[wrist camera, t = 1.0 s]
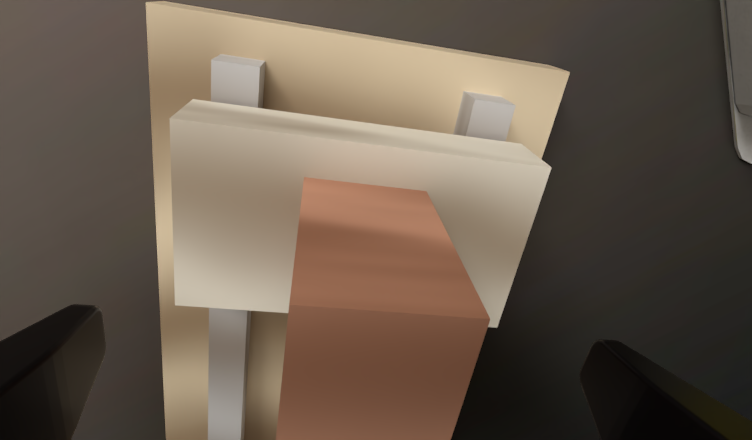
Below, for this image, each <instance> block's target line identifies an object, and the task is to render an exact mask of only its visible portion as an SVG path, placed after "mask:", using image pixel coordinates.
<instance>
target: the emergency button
mask: <svg viewBox="0 0 752 440" xmlns="http://www.w3.org/2000/svg"><path fill="white" fill-rule="evenodd" d="M720 6H721V16H722V26H723V36H724V46H725V56H726V66H727V76H728V86H729V96H730V106H731V116H732V126H733V136H734V146H735V149H736V151H737V154H738V156H739V158H740V159H742V160H744V161H746V162H748V163H751V164H752V0H720Z"/></svg>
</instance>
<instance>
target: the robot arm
mask: <svg viewBox="0 0 752 440" xmlns="http://www.w3.org/2000/svg"><path fill="white" fill-rule="evenodd" d="M105 350H106V342H105V333H104V324H103V315H102V311H101V309H100V308H99V307H98V306H94V305H79V304H73V305H70V306H68V307H66V308H64V309H62V310H60V311H58V312H56V313H54V314H52V315H50V316H48V317H46V318H44V319H42V320H41V321H39V322H37V323H35V324H33V325H31V326H29V327H27V328H25V329H23V330H21V331H19V332H17V333H15V334H13V335H12V336H10V337H8V338H6V339H4V340H2V341H0V440H71V438H72V436H73V434H74V431H75V429H76V426H77V424H78V421H79V419H80V416H81V414H82V411H83V409H84V406H85V404H86V401H87V399H88V396H89V394H90V391H91V389H92V386H93V384H94V381H95V379H96V376H97V374H98V371H99V369H100V366H101V364H102V361H103V359H104V355H105ZM580 383H581V386H582V389H583V392H584V395H585V397H586V400H587V403H588V406H589V409H590V411H591V414H592V417H593V420H594V423H595V425H596V428H597V431H598V434H599V437H600V439H601V440H752V421H750V420H748V419H747V418H745V417H743V416H742V415H740V414H738V413H737V412H735V411H734V410H732V409H730V408H729V407H727V406H725V405H724V404H722V403H720V402H719V401H717V400H715V399H714V398H712V397H710V396H709V395H707V394H705V393H704V392H702V391H700V390H699V389H697V388H695V387H694V386H692V385H690V384H689V383H687V382H686V381H684V380H682V379H681V378H679V377H677V376H676V375H674V374H672V373H671V372H669V371H667V370H666V369H664V368H662V367H661V366H659V365H657V364H656V363H654V362H652V361H651V360H649V359H647V358H646V357H644V356H643V355H641V354H639V353H638V352H636V351H634V350H633V349H631V348H629V347H628V346H626V345H624V344H623V343H621V342H619V341H616V340H603V339H599V340H596V341H595V342H594V343H593V344H592V346H591V348H590V350H589V352H588V355H587V357H586V359H585V361H584V363H583V366H582V368H581V370H580Z"/></svg>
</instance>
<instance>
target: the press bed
mask: <svg viewBox="0 0 752 440" xmlns="http://www.w3.org/2000/svg"><path fill="white" fill-rule="evenodd" d="M146 18H147V39H148V61H149V83H150V104H151V126H152V148H153V169H154V191H155V212H156V234H157V256H158V277H159V299H160V321H161V342H162V364H163V385H164V407H165V429H166V440H276V433H277V423H278V413H279V403H280V393H281V382H282V372H283V362H284V352H285V342H286V332H287V322H288V313H278V312H264V311H249V310H235V309H220V308H206V307H191V306H177V305H175V289H174V255H173V221H172V187H171V152H170V117H172V116H173V115H174V114H175V113H177V112H178V111H179V110H180V109H181V108H183V107H184V106H185V105H186V104H188V103H189V102H190V101H191V100H192V99H196V100H204V101H211V102H218V103H226V104H233V105H240V106H248V107H255V108H262V109H270V110H277V111H285V112H292V113H299V114H307V115H314V116H321V117H329V118H336V119H343V120H351V121H358V122H365V123H373V124H380V125H387V126H395V127H402V128H409V129H417V130H424V131H431V132H439V133H446V134H453V135H461V136H468V137H475V138H483V139H490V140H497V141H505V142H512V143H520V144H522V145H524V146H525V147H526V148H527V149H529V150H530V151H531V152H532V153H534V154H535V155H536V156H538V157H539V158H540V159H542V156H543V153H544V150H545V147H546V144H547V141H548V138H549V135H550V132H551V129H552V126H553V123H554V120H555V117H556V114H557V111H558V107H559V104H560V101H561V98H562V95H563V92H564V89H565V86H566V83H567V80H568V77H569V74H570V72H568V71H565V70H562V69H559V68H556V67H553V66H550V65H546V64H540V63H534V62H528V61H522V60H516V59H510V58H504V57H498V56H492V55H486V54H479V53H473V52H467V51H461V50H455V49H449V48H443V47H437V46H431V45H425V44H419V43H413V42H407V41H401V40H395V39H389V38H383V37H377V36H371V35H365V34H359V33H353V32H347V31H341V30H335V29H329V28H323V27H317V26H311V25H305V24H299V23H293V22H287V21H281V20H275V19H269V18H263V17H257V16H251V15H245V14H239V13H233V12H227V11H221V10H215V9H209V8H203V7H197V6H191V5H185V4H178V3H172V2H166V1H157V2H146Z"/></svg>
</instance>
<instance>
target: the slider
mask: <svg viewBox="0 0 752 440" xmlns="http://www.w3.org/2000/svg"><path fill="white" fill-rule="evenodd" d="M170 152H171V187H172V221H173V255H174V289H175V305H177V306H191V307H206V308H220V309H235V310H249V311H264V312H278V313H288V322H287V332H286V342H285V352H284V362H283V372H282V382H281V393H280V403H279V413H278V423H277V433H276V440H451V437H452V434H453V431H454V428H455V425H456V422H457V419H458V416H459V413H460V410H461V407H462V404H463V401H464V398H465V395H466V392H467V389H468V386H469V383H470V380H471V377H472V374H473V370H474V367H475V364H476V361H477V358H478V355H479V352H480V349H481V346H482V343H483V340H484V337H485V334H486V331H487V328H488V327H494V328H497V327H498V324H499V321H500V318H501V315H502V312H503V309H504V306H505V303H506V300H507V297H508V294H509V291H510V289H511V286H512V283H513V280H514V277H515V274H516V271H517V268H518V265H519V262H520V259H521V256H522V253H523V250H524V247H525V244H526V242H527V239H528V236H529V233H530V230H531V227H532V224H533V221H534V218H535V215H536V212H537V209H538V206H539V203H540V200H541V197H542V194H543V192H544V189H545V186H546V183H547V180H548V177H549V174H550V171H551V168H552V167H550V166H549V165H548V164H546V163H545V162H544V161H543V160H541V159H540V158H539V157H538V156H536V155H535V154H534V153H532V152H531V151H530V150H529V149H527V148H526V147H525V146H524V145H522V144H520V143H512V142H505V141H497V140H490V139H483V138H475V137H468V136H461V135H453V134H446V133H439V132H431V131H424V130H417V129H409V128H402V127H395V126H387V125H380V124H373V123H365V122H358V121H351V120H343V119H336V118H329V117H321V116H314V115H307V114H299V113H292V112H285V111H277V110H270V109H262V108H255V107H248V106H240V105H233V104H226V103H218V102H211V101H204V100H196V99H192V100H191V101H190V102H189V103H188V104H186V105H185V106H184V107H183V108H181V109H180V110H179V111H178V112H177V113H175V114H174V115H173V116H172V117H170Z"/></svg>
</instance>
